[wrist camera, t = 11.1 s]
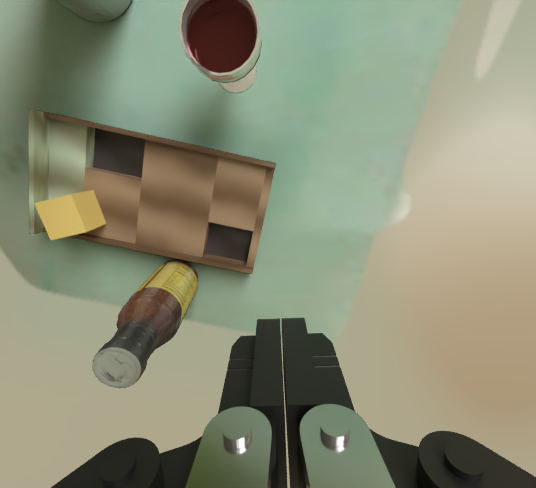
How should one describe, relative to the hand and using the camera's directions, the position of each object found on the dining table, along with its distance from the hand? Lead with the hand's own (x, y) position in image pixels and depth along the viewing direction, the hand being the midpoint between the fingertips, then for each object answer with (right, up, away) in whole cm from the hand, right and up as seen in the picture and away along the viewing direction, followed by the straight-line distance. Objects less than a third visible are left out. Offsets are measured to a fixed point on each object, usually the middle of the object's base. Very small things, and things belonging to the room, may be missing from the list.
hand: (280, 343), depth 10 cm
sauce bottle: (-13, -2, +34) cm, 37 cm away
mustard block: (-24, +7, +29) cm, 39 cm away
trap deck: (-15, +10, +31) cm, 35 cm away
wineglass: (-4, +24, +27) cm, 36 cm away
